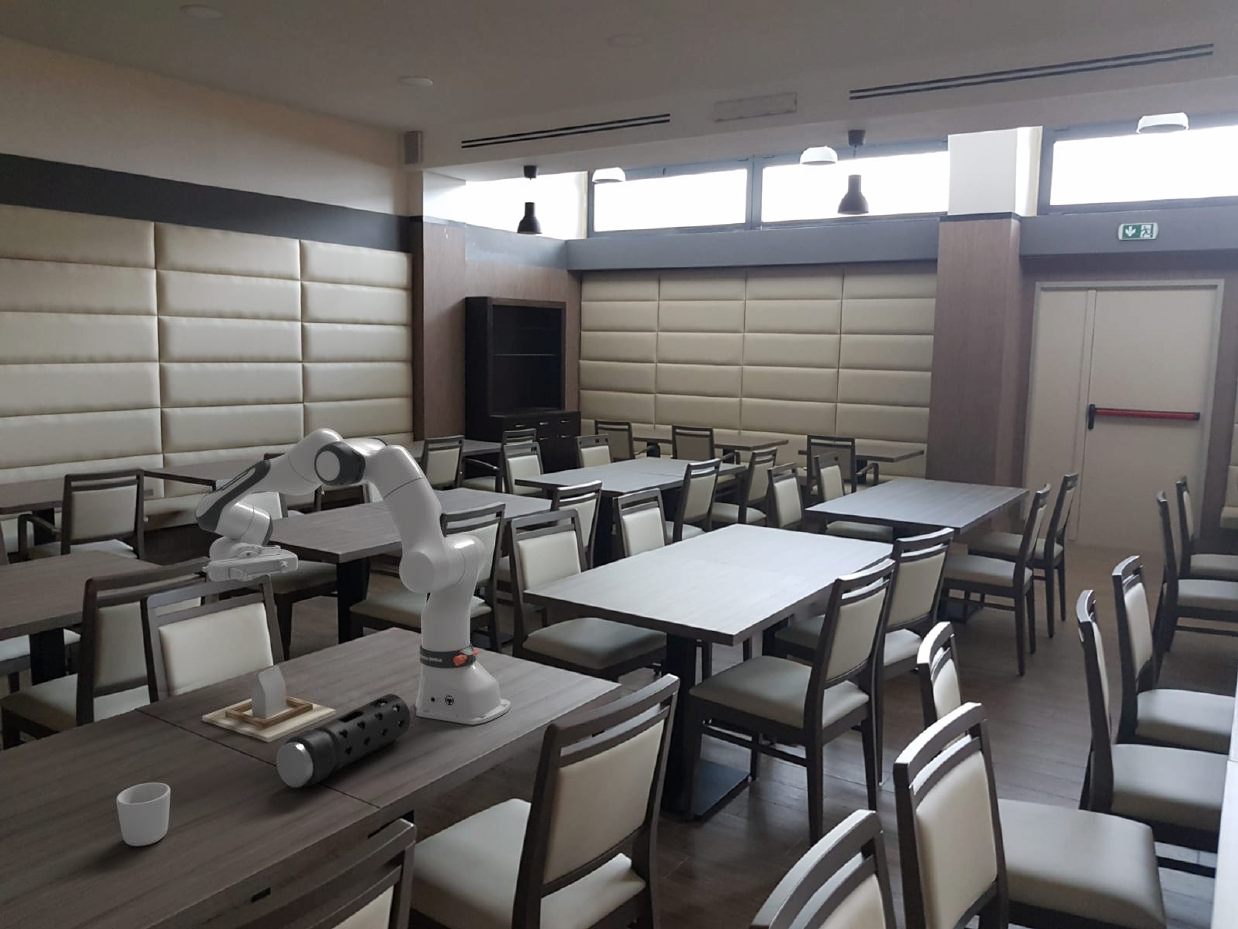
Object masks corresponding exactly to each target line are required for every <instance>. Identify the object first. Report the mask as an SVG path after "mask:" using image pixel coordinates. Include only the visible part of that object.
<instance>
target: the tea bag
mask: <svg viewBox="0 0 1238 929" xmlns="http://www.w3.org/2000/svg"><path fill="white" fill-rule="evenodd" d="M286 685H287V684H286V681H285V678H284V676H283V675H282V672H281V669H280V665H279V664H276V665H274V666H272V667H270V668H267V669H265V670H263V671H261V672H259V673H257V674H256V677H255V682H254V684H253V687H252V688H251V698H252V716H253V717H256V718H260V719H268V718H270V717H272V716H274V715H276V714H277V713H279V712H281V711H283V710H285V709H287V708H286V696H287V689H286V688H287V686H286Z"/></svg>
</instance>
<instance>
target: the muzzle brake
mask: <svg viewBox="0 0 1238 929" xmlns="http://www.w3.org/2000/svg"><path fill="white" fill-rule="evenodd" d="M394 708H396V710H395V709H394ZM410 726H411V713H410V709H409V707H408V705H407V703H406V702H405V701H404V699H402V698H401V697H400V696H398V694H394V693H389V694H388V693H387V694H385V695H383V696H381V697H379V698H377V699H374V700H372V701H370V702H368V703H365V704H364V705H361V706H360V707H356V708H355V709H353V710H351V711H349V712H346V713H344V714H342V715H340V716H338V717H335V718H334V719H332V720H330V721H327V722H325V723H323V724H321V725H319V726H317V727H315V728H313V729H307V730H305V731H302V732H300V733H298V734H296V735H294V736H292V737H290V738H288V739H287V740H286V741H285V743H284V744H283V745H282V746H281V747H280V748H279V749H278V751H277V753H276V756H275V757H276V758H275V764H276V765H275V766H276V769H277V772H278V775H279V777H280V778H281V780H282V781H283V782H284V783H285V784H286V785H287V786H288V787H290V788H294V789H297V788H301V787H311V786H312V785H315V784H316V783H319V782H322V781H324V780H326V779H327V778H330V777H332V776H333V775H334V772H337V770H339V769H341V768H343V767H345V766H348V765H349V764H350V763H352V762H357V761H358V760H359V759H360V758H362V757H365V758H366V756H369V755H370V754H372V753H375V752H376V751H378V750H381V748H383V747H385V746H386V745H389V744H390V743H392V742H394V741H396V739H398V738H399V737H400V736H403V735H404V734H406V733H407V731H408V730H409V728H410Z"/></svg>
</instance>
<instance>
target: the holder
mask: <svg viewBox="0 0 1238 929" xmlns="http://www.w3.org/2000/svg"><path fill="white" fill-rule="evenodd" d="M286 708H287V709H285V710H283V711H281V712H279V713H277V714H276V715H274V716H272V717H270V718H268V719H260V718H256V717H253V716H252V697H251V698H248V699H246V700H243V701H240V702H237V703H235V704H231V705H229V706H227V707H224V708H220V709H218V710H216V711H213V712H211V713H208V714H207V713H206V714H204V715H202V722H206V723H208V724H212V725H215V726H217V727H221V728H224V729H228V730H230V731H234V732H236V733H240V734H243V735H245V736H249V737H251V736H252V738H254V739H257V740H260V739H261V740H260V741H264V742H267V743H271V742H273V741H275V740H277V739H280V738H282V737H285V736H287V735H290V734H292V733H294V732H297V731H299V730H301V729H304V728H305V727H308V726H312V725H313V724H315V723H319V722H320V721H323V720H325V719H327V718H329V717H333V716H334V715H337V714H336V712H337V710H336V709H334V708H330V707H327V706H324V705H319V704H316V703H312V702H309V701H306V700H303V699H299V698H295V697H292V696H290V695H289V696H288V695H286Z"/></svg>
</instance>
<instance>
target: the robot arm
mask: <svg viewBox="0 0 1238 929" xmlns="http://www.w3.org/2000/svg"><path fill="white" fill-rule="evenodd" d="M371 483H372V484H373V485H374V486H375V488H376V489H377V491H378V493H379V495H380V496H381V499H382V501H383V502H384V503H383V504H385V506H386V509H387V510H388V512H389V514H390V517H391V518H392V519H393V520H392V521H393V523H394V524H395V526H396V528H397V531H398V534H399V537H400V541H401V549H402V550H401V551H402V556H401V559H400V563H399V566H398V567H399V568H398V571H399V572H398V573H399V578H400V580H401V582H402V584H403V585H404V586H405V588H407V589H408V590H409V591H410V592H413V593H417V594H429V593H430V594H429V596H428V600H427V601H426V603H425V605H424V607H423V608H422V611H421V615H420V628H421V629H420V630H421V634H420V635H421V636H420V637H421V644H420V645H419V652H418V654H419V655H418V656H419V662H420V663H421V666H420V668H421V669H420V677H419V687H418V692H417V697H416V700H415V704H414V705H415V706H414V707H415V708H416V712H415V714H416V717H420V718H421V717H422V718H426V719H427V718H428V719H433V720H440V721H445V722H453V723H459V724H464V725H480V724H483V723H486V722H489V721H492V720H495V719H496V718H499V717H500V716H502V715H504V714H505V713H507V712H508V711H509V710H510V709H511V706H512V705H511V701H510V700H508V699H504V698H502V697H501V690H500V686H499V682H498V680H496V679H495V677H494V676H492V675H491V674H490V673H489V672H488V671H487V670H486V668H484V667H483V666H482V664H480V663H479V661H477V655H479V654H480V649H479V648H478V649H476V650H474V647H473V644H472V642H471V641H470V640H471V638H470V637H471V635H470V634H471V631H470V630H471V628H470V627H471V609H472V602H473V598H474V594H475V589H476V585H477V583H478V578H479V576H480V574H481V572H482V570H483V568H484V567H485V565H486V562H487V556H488V555H487V549H486V546H485V544H484V542H482V540H481V539H480V538H478V536H475V535H472V534H465V533H464V534H462V533H461V534H451V535H449V536H446V537H445V536H444V534H443V530H442V527H441V522H440V517H441V515H442V510H443V508H442V505H441V502H440V501H439V498H438V496H437V495H436V493H435V491H434V490H433V487H432V485H431V484H430V482H429V480H428V479H427V476H426V475H425V474H424V471H423V470H422V468H421V467H420V465H419V464H418V462H417V461H416V459H415V458H414V457H413V456H412V454H411V453H410V452H409V451H408V450H407V448H405V447H404V446H402V445H399V444H392V443H391V442H390V441H388V440H386V439H385V438H384V439H383V438H380V437H367V438H363V437H362V438H357V437H356V438H355V437H354V438H348V439H347V438H346V439H344V438H343V436H341V435H340V433H338V432H337V431H335V430H333V429H331V428H328V427H327V428H326V427H323V428H322V427H321V428H318V429H316V430H314V431H312V432H310V433H309V434H308V435H306V436H305V437H303V438H302V439H301V440H300V441H299V442H297V443H296V444H295V445H294V446H293V447H292V448H290V450H289V451H287V452H286V453H284V454H282V455H280V456H277V457H273V458H270V459H262V460H259V461H257V462H256V463H254V464H253V465H250V466H249V467H248V468H246V469H245V470H243V471H241V473H239V474H238V475H236V476H235V477H233V478H232V479H230V480H229V481H228V482H227V483H225V484H223V485H222V486H221V487H218V489H215V490H213V491H210V492H208V493H206V494H205V495H204V496H203V497H202V498H201V499H200V500H199V502H198V503H197V505H196V508H195V509H194V510H195V511H194V518H195V520H196V523H197V524H198V526H199V528H200V529H201V530H203V531H207V532H210V533H214V534H218V535H220V536H222V537H220V538H216V540H215V541H214V542H212V544H211V545H210V548H209V559H210V561H209V562H208V563H207V565H206V566H202V569H201V570H202V572H203V573H207V574H208V578H209V579H210V580H211V581H213V582H221V581H222V582H223V581H228V580H229V581H230V580H237V581H241V582H248V581H252V580H254V579H256V578H259V577H261V576H265V575H272V574H277V573H281V574H284V573H288V572H291V571H292V572H293V571H296V570H297V569H299V558H298V555H297V554H296V553H294V552H292V551H290V550H287V549H283V548H282V549H281V546H280V545H277V544H276V545H275V544H274V545H272V544H270V545H268V544H269V541H270V540H271V537H272V535H273V532H274V523H273V522H274V521H273V519H272V515H271V514H270V512H269V511H267V510H265V509H263V508H260V507H257V506H255V505H253V504H250V503H246V502H245V501H242V500H244V499H245V498H246V497H248V496H249V495H251V494H252V493H256V492H272V493H279V494H284V495H287V496H288V495H289V496H306V495H308V494H311V493H312V492H314V491H316V490H317V489H318V488H319V487H320V486H322V485H323V484H325V485H326V486H329V487H335V488H344V487H349V486H363V485H368V484H371Z"/></svg>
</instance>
